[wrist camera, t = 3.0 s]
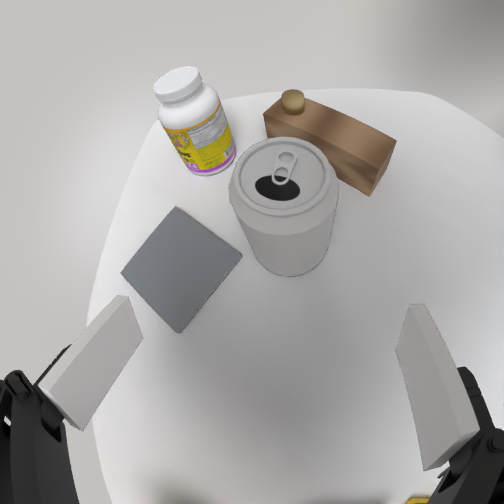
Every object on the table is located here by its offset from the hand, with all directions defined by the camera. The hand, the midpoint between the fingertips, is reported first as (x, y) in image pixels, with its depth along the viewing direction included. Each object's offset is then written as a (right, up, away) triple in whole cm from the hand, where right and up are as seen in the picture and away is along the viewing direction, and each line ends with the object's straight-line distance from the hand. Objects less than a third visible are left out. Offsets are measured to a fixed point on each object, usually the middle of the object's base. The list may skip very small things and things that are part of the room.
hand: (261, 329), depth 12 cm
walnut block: (+9, +15, +19) cm, 26 cm away
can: (+3, +4, +16) cm, 17 cm away
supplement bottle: (-5, +15, +22) cm, 27 cm away
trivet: (-8, +2, +17) cm, 19 cm away
